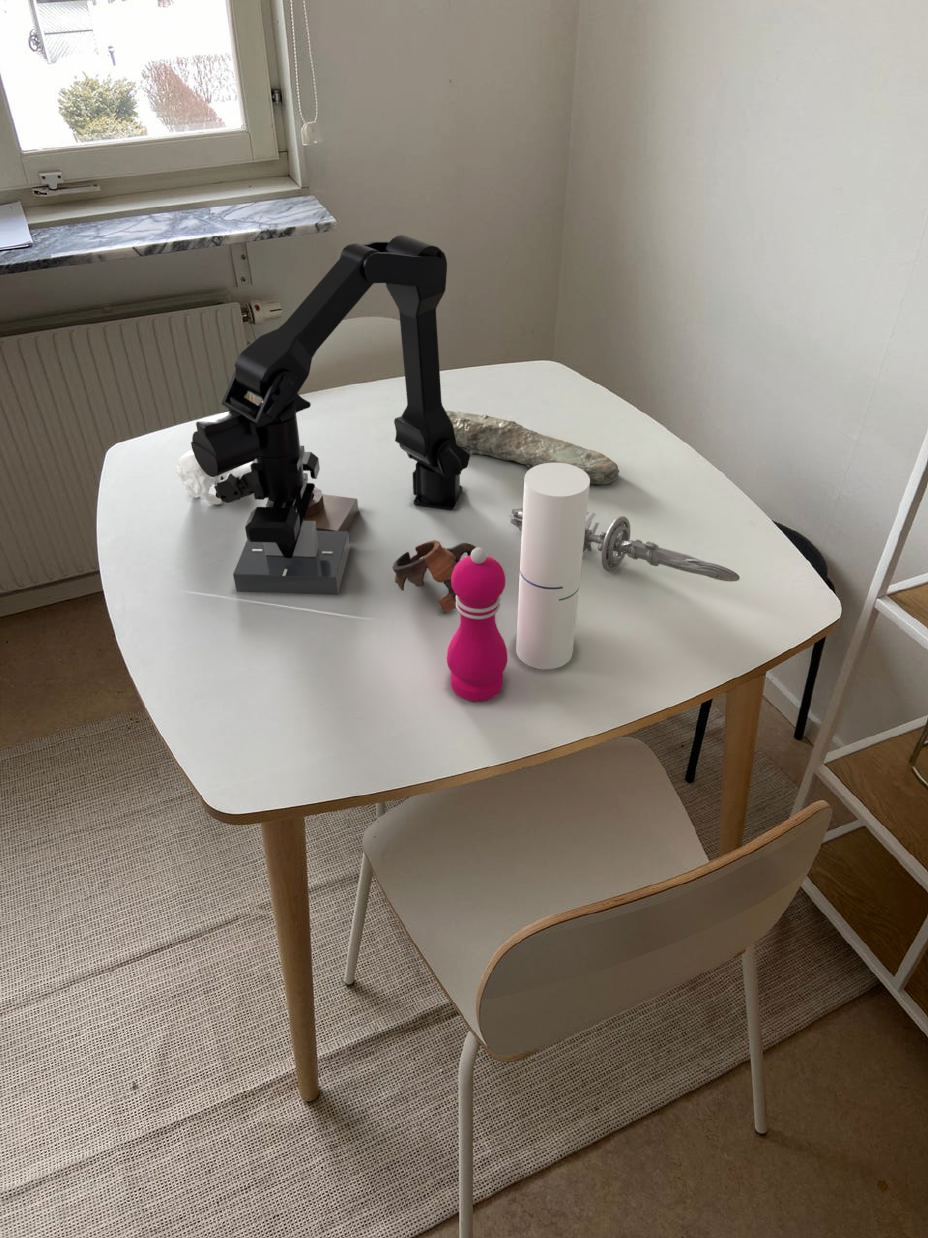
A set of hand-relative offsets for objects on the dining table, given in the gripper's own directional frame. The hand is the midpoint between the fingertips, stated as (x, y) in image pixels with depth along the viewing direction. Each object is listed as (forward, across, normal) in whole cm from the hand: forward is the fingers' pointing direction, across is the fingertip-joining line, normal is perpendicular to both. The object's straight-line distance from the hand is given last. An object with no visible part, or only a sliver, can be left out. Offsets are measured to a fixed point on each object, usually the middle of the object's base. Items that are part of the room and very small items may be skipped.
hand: (291, 547), depth 128 cm
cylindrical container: (+4, +15, +35) cm, 38 cm away
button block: (+4, -12, 0) cm, 13 cm away
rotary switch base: (+4, 0, 0) cm, 4 cm away
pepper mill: (+4, +22, +27) cm, 35 cm away
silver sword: (+4, -3, +45) cm, 45 cm away
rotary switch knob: (+1, 0, 0) cm, 1 cm away
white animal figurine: (+4, -20, -16) cm, 26 cm away
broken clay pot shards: (+4, +4, +21) cm, 21 cm away
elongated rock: (+4, -34, +31) cm, 46 cm away
